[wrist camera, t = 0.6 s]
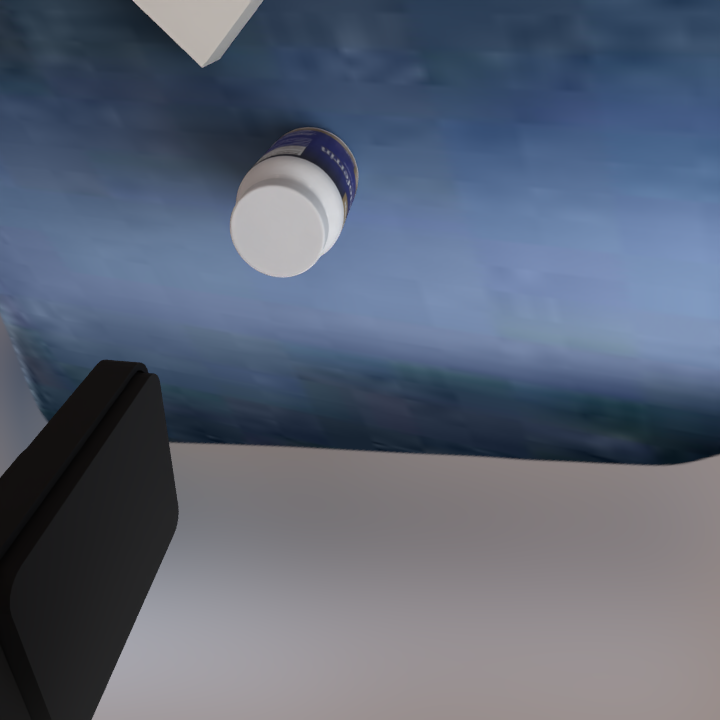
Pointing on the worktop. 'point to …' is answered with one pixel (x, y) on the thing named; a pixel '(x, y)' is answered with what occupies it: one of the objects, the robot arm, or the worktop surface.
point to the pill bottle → (294, 202)
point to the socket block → (201, 23)
